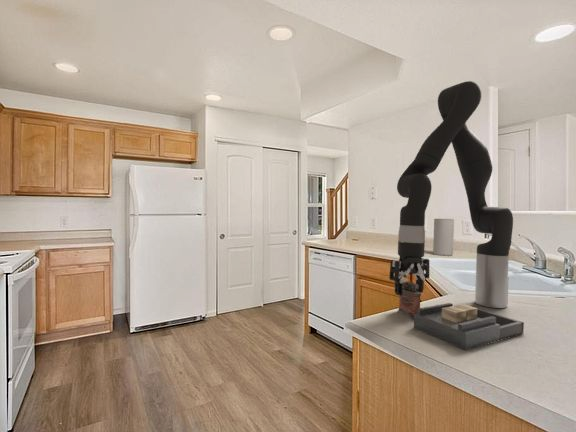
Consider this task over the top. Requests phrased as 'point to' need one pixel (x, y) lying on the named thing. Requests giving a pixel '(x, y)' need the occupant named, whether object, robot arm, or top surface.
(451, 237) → the cylinder vase
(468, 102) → the robot arm
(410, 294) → the lighter
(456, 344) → the slot block
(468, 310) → the chip
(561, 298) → the top surface
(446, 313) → the chip
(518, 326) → the tray
